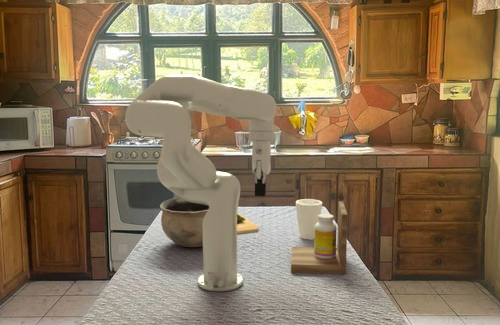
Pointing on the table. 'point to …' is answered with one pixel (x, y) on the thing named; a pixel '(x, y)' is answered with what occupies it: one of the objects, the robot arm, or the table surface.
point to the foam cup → (308, 217)
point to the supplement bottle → (325, 237)
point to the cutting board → (245, 225)
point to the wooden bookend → (309, 263)
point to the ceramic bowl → (183, 221)
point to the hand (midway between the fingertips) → (260, 195)
